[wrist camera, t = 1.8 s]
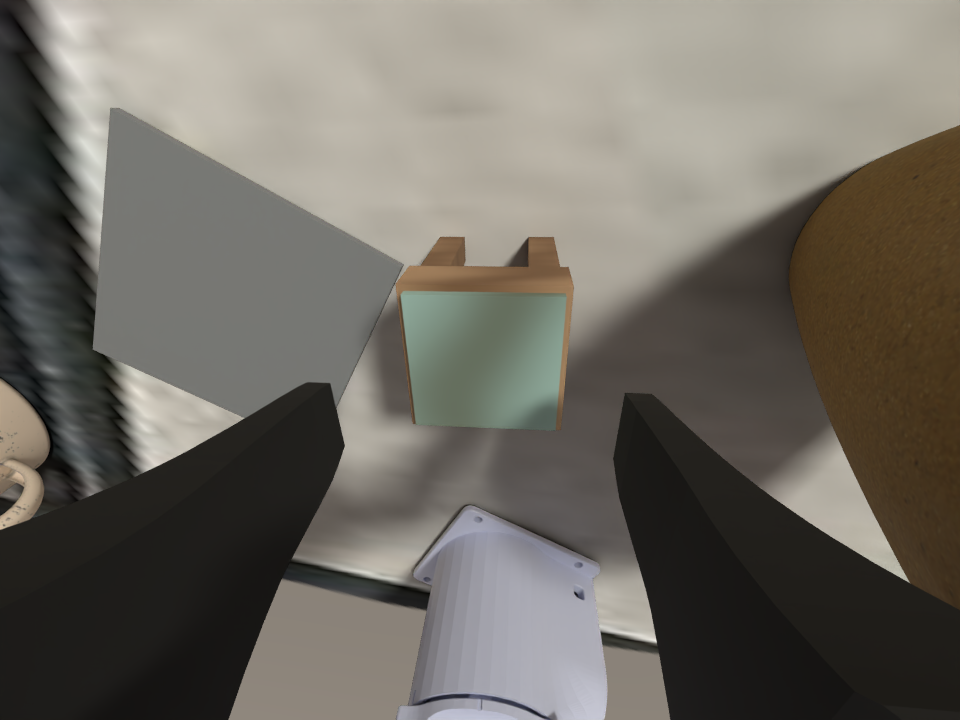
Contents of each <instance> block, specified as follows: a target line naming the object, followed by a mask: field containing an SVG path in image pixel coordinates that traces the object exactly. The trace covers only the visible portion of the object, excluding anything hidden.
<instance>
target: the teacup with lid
mask: <svg viewBox="0 0 960 720" xmlns="http://www.w3.org/2000/svg"><path fill="white" fill-rule="evenodd" d="M49 450H50V438H49V434H48V431H47V429H46V426H45V424H44V422H43V420H42V419H41V417H40V416H39V414H38V413H37V411H36V410H35V409H34V407H33V406H32V405H31V404H30V403H29V402H28V401H27V400H26V399H25V398H24V397H23V396H22V395H21V394H20V393H19V392H18V391H17V390H16V389H14V388H13V387H12V386H11V385H9V384H8V383H7V382H5V381H4V380H2V379H1V378H0V494H2V493H3V492H5V491H6V490H7V489H9V488H10V487H11V486H13V485H14V484H16V483H18V484H20V485H22V486H23V487H24V490H23V492H22V494H21V496H20V498H19V499H18V500H17V502H16V503H15V504H14V505H13V506H12V507H11V508H10V509H9V510H8V511H7V512H5V513H4V514H3V515H1V516H0V530H1V529H4V528H7V527H10V526H13V525H16V524H18V523H21V522H24V521H27V520H30V519H31V518H32V516H33V515H34V514H35V513H36V511H37V510H38V508H39V506H40V504H41V502H42V499H43V495H44V485H43V481H42V478H41V476H40V475H39V473H38V472H37V471H36V470H35V469H36V468H38V467H39V466H40V465H41V464H42V463H43V462H44V461H45V460H46V458H47V456H48V454H49Z"/></svg>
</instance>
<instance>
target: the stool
mask: <svg viewBox="0 0 960 720" xmlns="http://www.w3.org/2000/svg"><path fill="white" fill-rule="evenodd" d="M464 263H465V237H440V238H439V240H438V241H437V243H436V244H435V246H434V247H433V248H432V250H431V251H430V253H429V254H428V256H427V257H426V259H425V260H424V261H423V263H422V264H421V266H409V267H408V268H407V270H406V271H405V272H404V274H403V275H402V276H401V278H400V279H399V280H398V282H397V283H396V292H397V300H398V308H399V316H400V325H401V333H402V341H403V349H404V357H405V365H406V373H407V381H408V390H409V398H410V406H411V414H412V422H413V424H416V425H431V426H455V427H478V428H502V429H525V430H549V431H555V430H561V420H562V410H563V399H564V388H565V377H566V366H567V355H568V344H569V333H570V322H571V311H572V300H573V289H574V286H573V282H572V278H571V275H570V271H569V267H560V264H559V260H558V255H557V251H556V246H555V241H554V237H529V238H528V267H482V266H464Z"/></svg>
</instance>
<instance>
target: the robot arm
mask: <svg viewBox="0 0 960 720" xmlns="http://www.w3.org/2000/svg"><path fill="white" fill-rule="evenodd" d="M344 447H345V445H344V440H343V436H342V432H341V427H340V423H339V419H338V414H337V410H336V406H335V401H334V397H333V393H332V388H331V384H330V383H318V382H306V383H304V384H302V385H300V386H298V387H296V388H295V389H293V390H291V391H289V392H288V393H286V394H284V395H283V396H281V397H279V398H278V399H276V400H274V401H273V402H271V403H269V404H268V405H266V406H264V407H263V408H261V409H259V410H258V411H256V412H254V413H253V414H251V415H250V416H248V417H246V418H245V419H243V420H241V421H240V422H238V423H236V424H235V425H233V426H231V427H230V428H228V429H226V430H224V431H222V432H221V433H219V434H217V435H215V436H214V437H212V438H210V439H208V440H206V441H205V442H203V443H201V444H199V445H197V446H196V447H194V448H192V449H190V450H189V451H187V452H185V453H183V454H181V455H179V456H177V457H175V458H173V459H171V460H169V461H167V462H165V463H163V464H161V465H159V466H157V467H155V468H153V469H151V470H149V471H147V472H144V473H142V474H140V475H138V476H136V477H134V478H132V479H129V480H127V481H125V482H123V483H120V484H118V485H116V486H113V487H111V488H108V489H106V490H103V491H101V492H99V493H96V494H94V495H91V496H89V497H86V498H84V499H82V500H79V501H77V502H74V503H72V504H70V505H67V506H65V507H62V508H59V509H57V510H54V511H51V512H49V513H46V514H43V515H41V516H38V517H35V518H32V519H30V520H27V521H24V522H21V523H18V524H16V525H13V526H10V527H7V528H4V529H1V530H0V720H228V719H229V716H230V713H231V710H232V707H233V705H234V701H235V699H236V696H237V693H238V690H239V687H240V684H241V681H242V679H243V676H244V673H245V670H246V667H247V665H248V662H249V659H250V657H251V654H252V652H253V649H254V646H255V644H256V641H257V638H258V636H259V633H260V631H261V628H262V625H263V623H264V620H265V618H266V615H267V613H268V610H269V608H270V606H271V603H272V601H273V598H274V596H275V593H276V591H277V589H278V586H279V584H280V581H281V579H282V577H283V575H284V573H285V571H286V569H287V567H288V565H289V562H290V561H291V559H292V557H293V555H294V553H295V551H296V549H297V547H298V545H299V544H300V542H301V540H302V538H303V536H304V534H305V532H306V530H307V528H308V527H309V525H310V523H311V521H312V519H313V517H314V515H315V513H316V512H317V510H318V508H319V506H320V504H321V502H322V500H323V498H324V496H325V494H326V492H327V490H328V488H329V486H330V484H331V482H332V480H333V478H334V475H335V472H336V470H337V467H338V464H339V461H340V459H341V456H342V453H343V450H344ZM613 460H614V467H615V474H616V480H617V486H618V493H619V498H620V502H621V505H622V509H623V512H624V516H625V519H626V523H627V526H628V530H629V533H630V537H631V540H632V544H633V547H634V550H635V554H636V557H637V561H638V564H639V568H640V571H641V574H642V578H643V581H644V585H645V588H646V592H647V596H648V600H649V604H650V608H651V613H652V619H653V624H654V629H655V635H656V640H657V645H658V650H659V656H660V660H661V666H662V673H663V679H664V684H665V690H666V696H667V702H668V708H669V713H670V719H671V720H960V610H959V609H957V608H955V607H953V606H952V605H950V604H948V603H946V602H944V601H942V600H940V599H938V598H937V597H935V596H933V595H931V594H929V593H927V592H925V591H924V590H922V589H920V588H918V587H916V586H914V585H912V584H910V583H909V582H907V581H905V580H903V579H901V578H900V577H898V576H896V575H894V574H893V573H891V572H889V571H887V570H886V569H884V568H882V567H880V566H878V565H877V564H875V563H873V562H872V561H870V560H868V559H867V558H865V557H863V556H862V555H860V554H858V553H857V552H855V551H853V550H852V549H850V548H849V547H847V546H845V545H844V544H842V543H840V542H839V541H837V540H835V539H834V538H832V537H830V536H829V535H827V534H826V533H824V532H823V531H821V530H820V529H818V528H816V527H815V526H813V525H812V524H810V523H809V522H807V521H806V520H804V519H803V518H801V517H800V516H799V515H797V514H796V513H794V512H793V511H791V510H790V509H788V508H787V507H786V506H784V505H783V504H781V503H780V502H778V501H777V500H776V499H774V498H773V497H771V496H770V495H769V494H767V493H766V492H765V491H763V490H762V489H761V488H759V487H758V486H757V485H755V484H754V483H753V482H751V481H750V480H749V479H748V478H746V477H745V476H744V475H743V474H741V473H740V472H739V471H738V470H736V469H735V468H734V467H733V466H731V465H730V464H729V463H728V462H727V461H725V460H724V459H723V458H722V457H721V456H719V455H718V454H717V453H716V452H715V451H714V450H712V449H711V448H710V447H709V446H708V445H707V444H706V443H705V442H703V441H702V440H701V439H700V438H699V437H698V436H697V435H696V434H695V433H693V432H692V431H691V430H690V429H689V428H688V427H687V426H686V425H685V424H684V423H683V422H682V421H681V420H679V419H678V418H677V417H676V416H675V415H674V414H673V413H672V412H671V411H670V410H669V409H668V408H667V407H666V406H665V405H664V404H662V403H661V402H660V401H659V400H658V399H657V398H656V397H655V396H654V395H652V394H640V393H625V396H624V402H623V407H622V413H621V418H620V424H619V430H618V435H617V441H616V447H615V452H614V458H613ZM599 573H600V565H599V564H598V563H597V562H595V561H593V560H591V559H589V558H586V557H584V556H582V555H580V554H578V553H576V552H573V551H571V550H569V549H567V548H565V547H562V546H560V545H558V544H556V543H554V542H552V541H549V540H547V539H545V538H543V537H541V536H538V535H536V534H534V533H532V532H530V531H528V530H525V529H523V528H521V527H519V526H517V525H515V524H512V523H510V522H508V521H506V520H504V519H501V518H499V517H497V516H495V515H493V514H491V513H488V512H486V511H484V510H482V509H480V508H477V507H475V506H472V505H469V506H466V507H464V508H463V510H462V511H461V512H460V513H459V515H458V516H457V517H456V518H455V520H454V521H453V522H452V523H451V524H450V526H449V527H448V528H447V529H446V531H445V532H444V533H443V534H442V536H441V537H440V538H439V539H438V541H437V542H436V543H435V544H434V546H433V547H432V548H431V549H430V551H429V552H428V553H427V554H426V556H425V557H424V558H423V559H422V561H421V562H420V563H419V564H418V566H417V567H416V568H415V570H414V573H413V576H414V578H415V579H417V580H419V581H421V582H424V583H426V584H428V585H431V586H432V587H431V592H430V597H429V602H428V607H427V613H426V618H425V623H424V628H423V633H422V638H421V643H420V648H419V653H418V658H417V663H416V668H415V673H414V678H413V683H412V688H411V693H410V698H409V703H408V706H405V705H400V706H399V707H398V712H397V716H396V720H604V718H605V710H606V704H607V678H606V670H605V662H604V655H603V648H602V641H601V634H600V627H599V620H598V613H597V606H596V599H595V592H594V585H593V578H594V577H595V576H597V575H598V574H599Z"/></svg>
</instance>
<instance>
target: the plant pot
mask: <svg viewBox="0 0 960 720" xmlns="http://www.w3.org/2000/svg"><path fill="white" fill-rule="evenodd" d="M789 286H790V292H791V297H792V302H793V307H794V311H795V315H796V320H797V324H798V328H799V332H800V335H801V339H802V342H803V346H804V349H805V352H806V355H807V359H808V362H809V365H810V368H811V371H812V374H813V377H814V380H815V382H816V385H817V388H818V391H819V393H820V396H821V399H822V401H823V404H824V406H825V409H826V411H827V414H828V416H829V419H830V421H831V424H832V426H833V429H834V431H835V433H836V435H837V437H838V440H839V442H840V444H841V446H842V448H843V451H844V453H845V455H846V457H847V460H848V462H849V464H850V466H851V468H852V470H853V472H854V475H855V477H856V479H857V481H858V483H859V485H860V487H861V489H862V491H863V493H864V495H865V497H866V499H867V502H868V504H869V506H870V508H871V510H872V512H873V514H874V516H875V518H876V520H877V521H878V523H879V525H880V527H881V529H882V531H883V533H884V535H885V537H886V539H887V541H888V543H889V545H890V546H891V548H892V550H893V552H894V554H895V556H896V558H897V560H898V562H899V564H900V566H901V567H902V569H903V571H904V573H905V575H906V576H907V578H908V580H909V582H910V584H912V585H914V586H916V587H918V588H920V589H922V590H924V591H925V592H927V593H929V594H931V595H933V596H935V597H937V598H938V599H940V600H942V601H944V602H946V603H948V604H950V605H952V606H953V607H955V608H957V609H959V610H960V125H959V126H956V127H954V128H951V129H948V130H946V131H943V132H941V133H938V134H935V135H933V136H930V137H928V138H925V139H923V140H920V141H918V142H915V143H913V144H910V145H908V146H906V147H903V148H901V149H898V150H896V151H894V152H892V153H890V154H887V155H885V156H883V157H881V158H879V159H876V160H875V161H873V162H871V163H870V164H868V165H866V166H864V167H863V168H861V169H860V170H859V171H857V172H856V173H854V174H853V175H852V176H850V177H849V178H848V179H846V180H845V181H844V182H843V183H841V184H840V185H839V186H838V187H836V188H835V189H834V190H833V191H832V192H831V193H830V194H829V195H828V196H827V197H826V198H825V199H824V200H823V201H822V203H821V204H820V205H819V206H818V207H817V209H816V210H815V211H814V213H813V214H812V215H811V217H810V218H809V220H808V221H807V223H806V224H805V226H804V228H803V229H802V231H801V233H800V235H799V237H798V239H797V242H796V244H795V247H794V250H793V253H792V257H791V262H790V267H789Z"/></svg>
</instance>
